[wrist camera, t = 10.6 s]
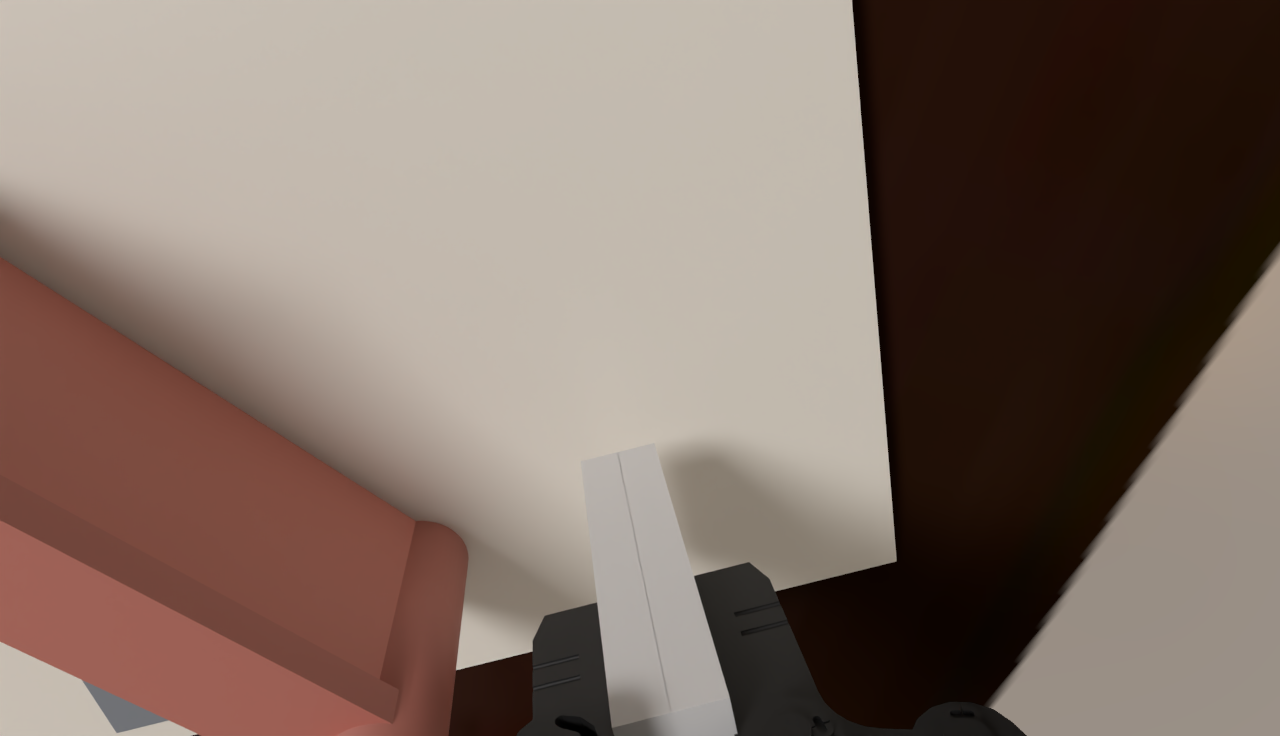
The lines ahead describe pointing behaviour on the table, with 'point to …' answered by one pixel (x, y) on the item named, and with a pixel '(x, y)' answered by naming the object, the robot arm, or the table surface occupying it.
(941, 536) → the table surface
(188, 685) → the red wall panel
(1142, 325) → the table surface
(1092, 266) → the table surface
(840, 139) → the card
